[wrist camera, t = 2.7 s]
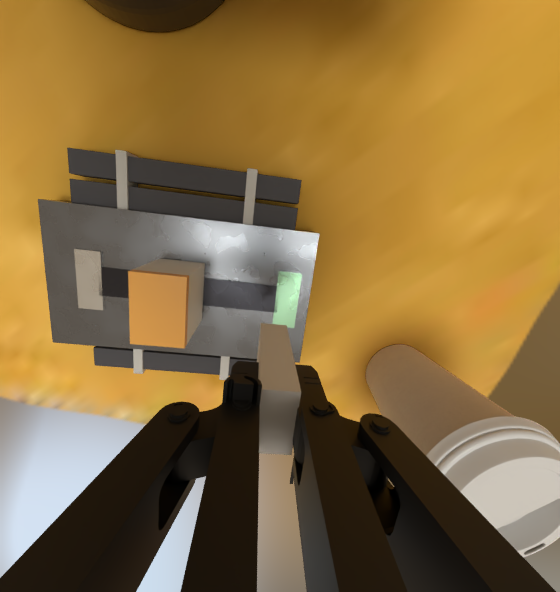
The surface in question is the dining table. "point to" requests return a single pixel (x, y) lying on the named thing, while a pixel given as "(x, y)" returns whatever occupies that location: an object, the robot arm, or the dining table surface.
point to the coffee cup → (474, 445)
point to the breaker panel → (184, 247)
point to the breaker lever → (165, 302)
